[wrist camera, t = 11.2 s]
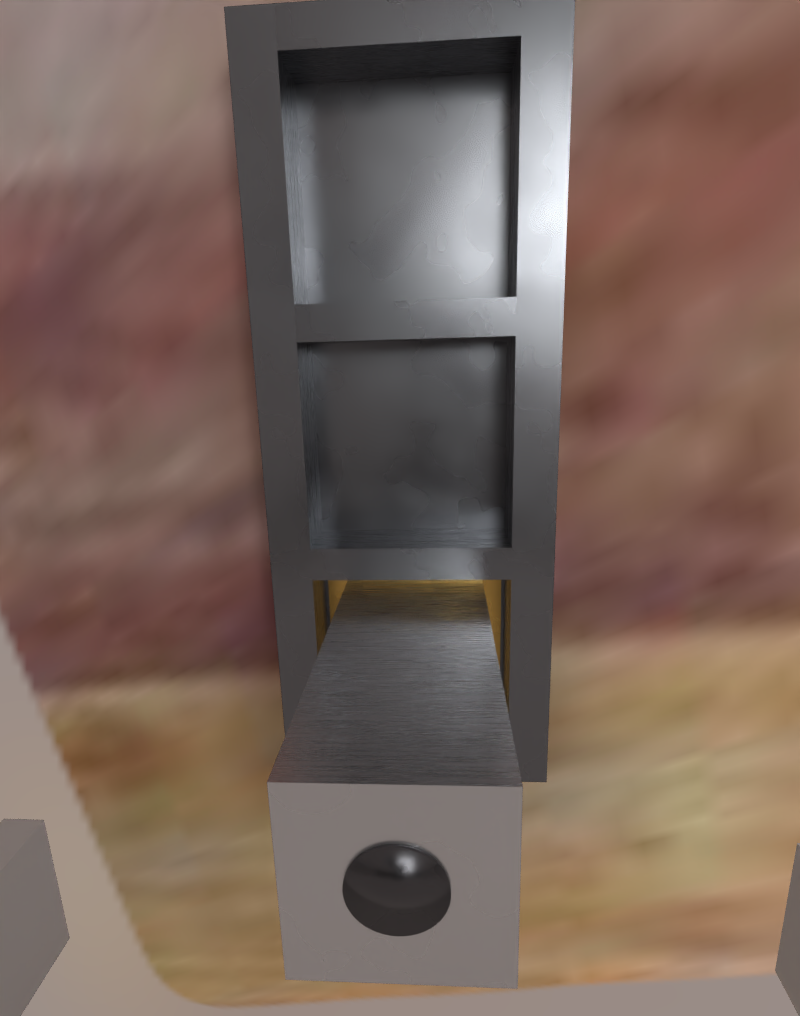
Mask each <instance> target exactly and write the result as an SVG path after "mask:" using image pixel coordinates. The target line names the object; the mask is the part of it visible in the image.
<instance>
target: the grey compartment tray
mask: <svg viewBox="0 0 800 1016" xmlns="http://www.w3.org/2000/svg"><path fill="white" fill-rule="evenodd" d="M224 12H225V24H226V36H227V48H228V60H229V72H230V84H231V96H232V108H233V120H234V132H235V144H236V156H237V167H238V179H239V191H240V203H241V215H242V227H243V239H244V251H245V263H246V275H247V287H248V299H249V311H250V323H251V335H252V347H253V359H254V370H255V382H256V394H257V406H258V418H259V430H260V442H261V454H262V466H263V478H264V490H265V502H266V514H267V526H268V538H269V550H270V561H271V573H272V585H273V597H274V609H275V621H276V633H277V645H278V657H279V669H280V681H281V693H282V705H283V717H284V729H285V736H286V734H287V731H288V729H289V726H290V724H291V721H292V719H293V716H294V714H295V711H296V709H297V706H298V704H299V701H300V699H301V696H302V693H303V691H304V688H305V686H306V683H307V681H308V678H309V676H310V673H311V671H312V668H313V666H314V663H315V661H316V658H317V656H318V653H319V651H320V648H321V646H322V643H323V641H324V638H325V636H326V633H327V631H328V628H329V626H330V623H331V621H332V618H333V616H334V613H335V611H336V608H337V606H338V603H339V601H340V598H341V596H342V593H343V591H344V588H345V586H346V583H347V581H348V580H482V581H483V586H484V591H485V596H486V601H487V606H488V612H489V617H490V622H491V627H492V632H493V637H494V642H495V647H496V653H497V658H498V663H499V668H500V673H501V678H502V683H503V689H504V694H505V699H506V704H507V709H508V714H509V719H510V725H511V730H512V735H513V740H514V745H515V750H516V755H517V760H518V766H519V771H520V776H521V781H522V782H546V780H547V753H548V726H549V698H550V671H551V644H552V616H553V589H554V562H555V535H556V507H557V480H558V453H559V425H560V398H561V371H562V343H563V316H564V289H565V261H566V234H567V207H568V179H569V152H570V125H571V97H572V70H573V43H574V15H575V0H317V1H302V2H287V3H272V4H258V5H243V6H228V7H224Z"/></svg>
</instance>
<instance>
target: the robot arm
mask: <svg viewBox="0 0 800 1016" xmlns="http://www.w3.org/2000/svg"><path fill="white" fill-rule="evenodd" d="M68 940H69V933H68V929H67V924H66V919H65V915H64V910H63V906H62V901H61V897H60V892H59V887H58V883H57V878H56V874H55V870H54V864H53V860H52V855H51V851H50V846H49V841H48V837H47V833H46V828H45V823H44V820H27V819H3V820H2V822H1V823H0V1016H21V1015H22V1013H23V1011H24V1010H25V1008H26V1006H27V1005H28V1003H29V1002H30V1000H31V999H32V997H33V995H34V994H35V992H36V991H37V989H38V987H39V986H40V984H41V983H42V981H43V979H44V978H45V976H46V975H47V973H48V972H49V970H50V968H51V967H52V965H53V964H54V962H55V960H56V959H57V957H58V956H59V954H60V952H61V951H62V949H63V948H64V946H65V945H66V943H67V941H68ZM775 971H776V973H777V975H778V977H779V979H780V981H781V982H782V985H783V986H784V988H785V990H786V992H787V994H788V996H789V998H790V1000H791V1002H792V1004H793V1005H794V1007H795V1009H796V1011H797V1013H798V1015H799V1016H800V843H797V847H796V853H795V859H794V865H793V870H792V876H791V882H790V888H789V893H788V899H787V905H786V911H785V917H784V922H783V928H782V934H781V940H780V946H779V951H778V957H777V963H776V969H775Z"/></svg>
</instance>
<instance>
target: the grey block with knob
mask: <svg viewBox="0 0 800 1016" xmlns="http://www.w3.org/2000/svg"><path fill="white" fill-rule="evenodd" d="M267 787H268V798H269V808H270V819H271V830H272V840H273V851H274V862H275V872H276V883H277V894H278V904H279V915H280V925H281V936H282V947H283V957H284V968H285V979H286V980H311V981H336V982H361V983H386V984H411V985H436V986H461V987H487V988H512V989H518V950H519V911H520V872H521V833H522V793H523V786H522V781H521V776H520V771H519V766H518V760H517V755H516V750H515V745H514V740H513V735H512V730H511V725H510V719H509V714H508V709H507V704H506V699H505V694H504V689H503V683H502V678H501V673H500V668H499V663H498V658H497V653H496V647H495V642H494V637H493V632H492V627H491V622H490V617H489V612H488V606H487V601H486V596H485V591H484V586H483V581H482V580H348V581H347V583H346V586H345V588H344V591H343V593H342V596H341V598H340V601H339V603H338V606H337V608H336V611H335V613H334V616H333V618H332V621H331V623H330V626H329V628H328V631H327V633H326V636H325V638H324V641H323V643H322V646H321V648H320V651H319V653H318V656H317V658H316V661H315V663H314V666H313V668H312V671H311V673H310V676H309V678H308V681H307V683H306V686H305V688H304V691H303V693H302V696H301V699H300V701H299V704H298V706H297V709H296V711H295V714H294V716H293V719H292V721H291V724H290V726H289V729H288V731H287V734H286V736H285V739H284V741H283V744H282V746H281V749H280V751H279V754H278V756H277V759H276V761H275V764H274V766H273V769H272V771H271V774H270V776H269V779H268V781H267Z"/></svg>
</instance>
